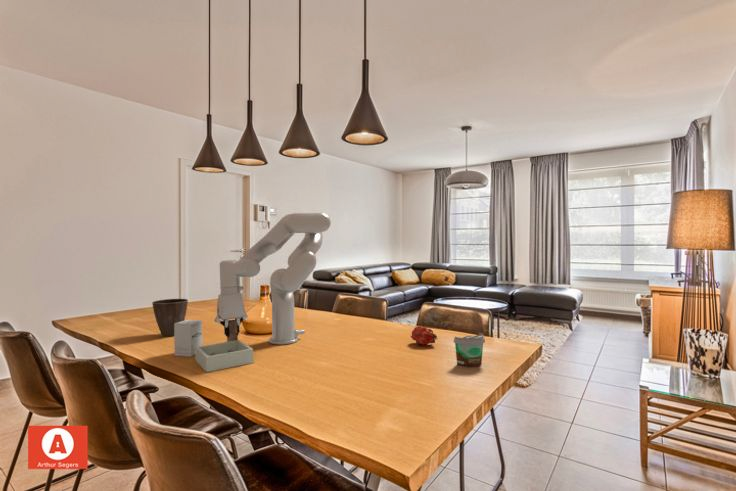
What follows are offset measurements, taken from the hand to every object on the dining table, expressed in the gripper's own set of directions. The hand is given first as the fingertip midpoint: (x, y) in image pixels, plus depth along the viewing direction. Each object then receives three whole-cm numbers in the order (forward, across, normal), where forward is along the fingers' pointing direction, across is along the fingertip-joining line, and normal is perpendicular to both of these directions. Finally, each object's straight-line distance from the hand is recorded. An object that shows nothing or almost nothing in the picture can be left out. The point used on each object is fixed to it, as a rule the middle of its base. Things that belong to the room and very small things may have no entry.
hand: (232, 335), depth 156 cm
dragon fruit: (+7, -65, +44) cm, 79 cm away
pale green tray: (+5, +8, +15) cm, 18 cm away
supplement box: (+5, +16, -4) cm, 17 cm away
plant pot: (+5, +16, -42) cm, 45 cm away
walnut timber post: (+3, 0, 0) cm, 3 cm away
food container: (+7, -60, +73) cm, 95 cm away
